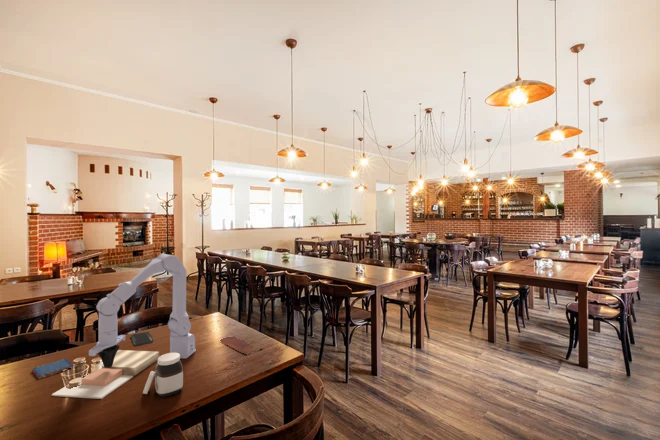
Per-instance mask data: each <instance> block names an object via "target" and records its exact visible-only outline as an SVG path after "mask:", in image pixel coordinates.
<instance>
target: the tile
mask: <svg viewBox="0 0 660 440" xmlns="http://www.w3.org/2000/svg"><path fill="white" fill-rule="evenodd" d="M121 375H123V372H122V369H107V368H101V369H99V370H96V371H94V372H93V373H91V372H90V374H89V375H88V376H86V377H84V378H82V379H81V384H82V385H94V386H106V385H107V384H109V383H110V382H112V381H114V380H115V379H117V378H118V377H120V376H121Z"/></svg>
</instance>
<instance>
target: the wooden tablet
mask: <svg viewBox="0 0 660 440" xmlns="http://www.w3.org/2000/svg"><path fill="white" fill-rule="evenodd" d="M235 336H236V335H234V337H226V336H225V337H226V338H223V337H222V338H223V339H221V340H220V341H221V342H222V343H221V342H220V343H221V344H223V343H224V344H223V345H225V344H226V345H225V346H227V345H228V346H227V347H229V346H230V348H231V349H233V348H234V350H235V351H236V350H237V351H236V352H238V351H239V352H238V353H240V352H242V353H245V354H246V353H248V352H249V350H250V349H252V348H253V346H250V345H249V344H247V343H246V342H245V341H244V340H240V339H237V338H236V337H235ZM242 353H241V354H242Z"/></svg>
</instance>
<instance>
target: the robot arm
mask: <svg viewBox="0 0 660 440" xmlns="http://www.w3.org/2000/svg"><path fill="white" fill-rule="evenodd" d="M163 272H168V273H169V274H171V275H172V312H171V313H170V315H169V320H168V322H167V327H168V330H170V333H169V344H170V345H169V353H179V354H180V359H187V358H189V357H190V356H191V355H193V354H194V353H195V352H196V351H197V350H196V336H195V334H193V333H190V331H191V328H192V323H191V322H190V316H189V314H188V312H187V269H186V267H185V266H184V264H183V263H182V259H180V257H178V256H176V255H173V254H171V255H170V254H168V253H167V254H166V253H160V254H159V255H158V256H157V257H155V258H153V259H152V260H151V261H150V262H149V263H148V264H147V265H146V266H145V267H144V268H143V269H142V270H141V271H140V272H138V274H136V275H135V276H134V277H133V278H132V279H131V280H130V281H123V282H120V283H119V284H117V286H118V287H117V288H115V289H114V290H113V291H112V292H110V293H108V294H106V297H103V298H101V299H100V300H99V301H98V302H97V304H96V306H95V307H96V310H97V311H98V321H97V322H98V326H97V327H98V329H97V330H98V341H97V342H96V345H94V346H93V348H90V349H89V350H88V356H89V357H95V356H97V355H98V356H99V358H100V360H102V362H103V365H104V368H110V367H112V365H113V361H114V358H115V355H116V353H117V351H118V350H120V345H118V344H119V343H120V342H124V341H126V335H125V334H120V335H118V313H119V310H120V308H121V306H122V305H123V304H124V303H125V302H126V301H127V300H129V298H131V297H132V296H133V295H135V294H136V292H137V287H139V286H140V285H141V284H143V282H145V281H146V280H148V278H150V277H151V276H152V275H154V274H156V273H157V274H158V273H163Z"/></svg>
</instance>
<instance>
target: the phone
mask: <svg viewBox="0 0 660 440" xmlns="http://www.w3.org/2000/svg"><path fill="white" fill-rule="evenodd" d="M130 340H131V342H132V344H133V346H134V347H138V346H142V345H147V344H151V343H154V339H153V336H152V335H151V334H150V332H149V331H146V332H140V333H135V334H131V335H130Z"/></svg>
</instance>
